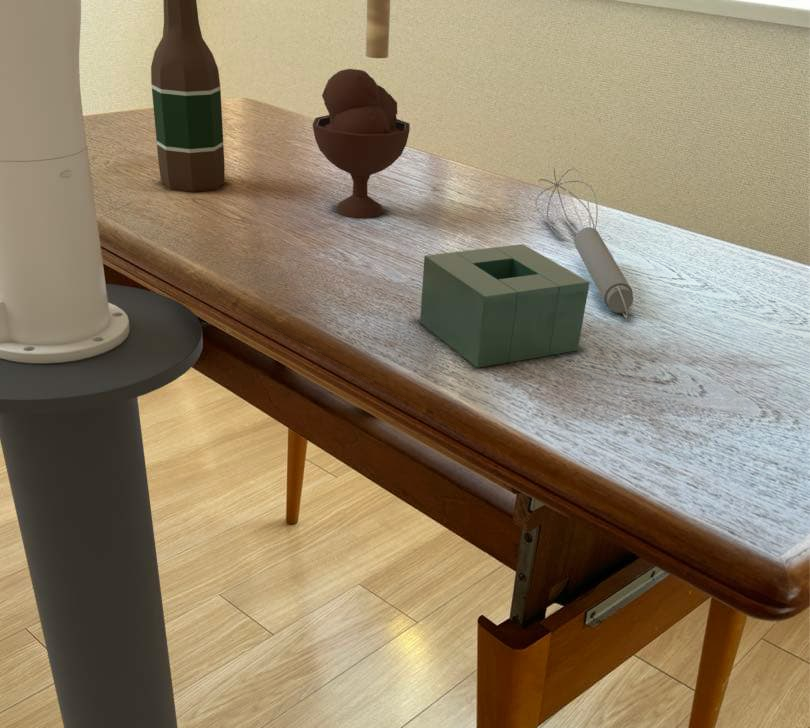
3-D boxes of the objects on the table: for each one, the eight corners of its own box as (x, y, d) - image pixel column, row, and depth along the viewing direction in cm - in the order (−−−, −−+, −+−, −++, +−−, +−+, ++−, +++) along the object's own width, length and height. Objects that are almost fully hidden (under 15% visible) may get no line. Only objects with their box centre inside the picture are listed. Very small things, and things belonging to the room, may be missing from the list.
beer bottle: (193, 171, 119) (177, -51, 105) (238, 184, 116) (228, -45, 102) (146, 183, 114) (123, -50, 100) (192, 196, 110) (175, -44, 96)
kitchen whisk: (592, 323, 85) (604, 254, 81) (526, 214, 112) (533, 159, 109) (657, 325, 85) (673, 256, 82) (576, 216, 113) (585, 161, 109)
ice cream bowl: (389, 230, 104) (396, 81, 95) (297, 215, 106) (295, 69, 98) (418, 205, 112) (427, 67, 103) (332, 192, 115) (333, 56, 106)
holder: (477, 368, 76) (485, 296, 72) (419, 322, 83) (424, 255, 79) (578, 350, 80) (590, 281, 76) (514, 308, 87) (523, 243, 83)
